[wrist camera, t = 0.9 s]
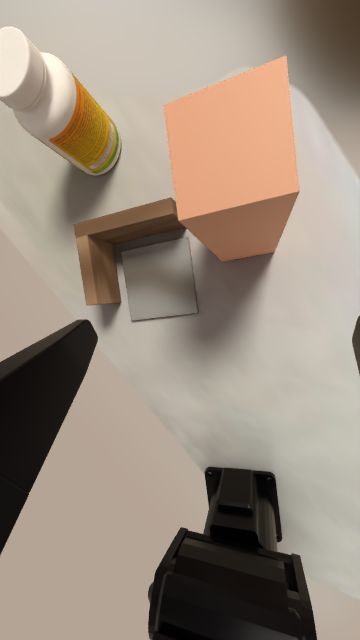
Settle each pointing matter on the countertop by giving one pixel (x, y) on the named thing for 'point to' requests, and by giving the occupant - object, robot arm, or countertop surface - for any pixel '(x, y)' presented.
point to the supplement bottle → (55, 105)
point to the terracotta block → (235, 161)
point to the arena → (138, 262)
